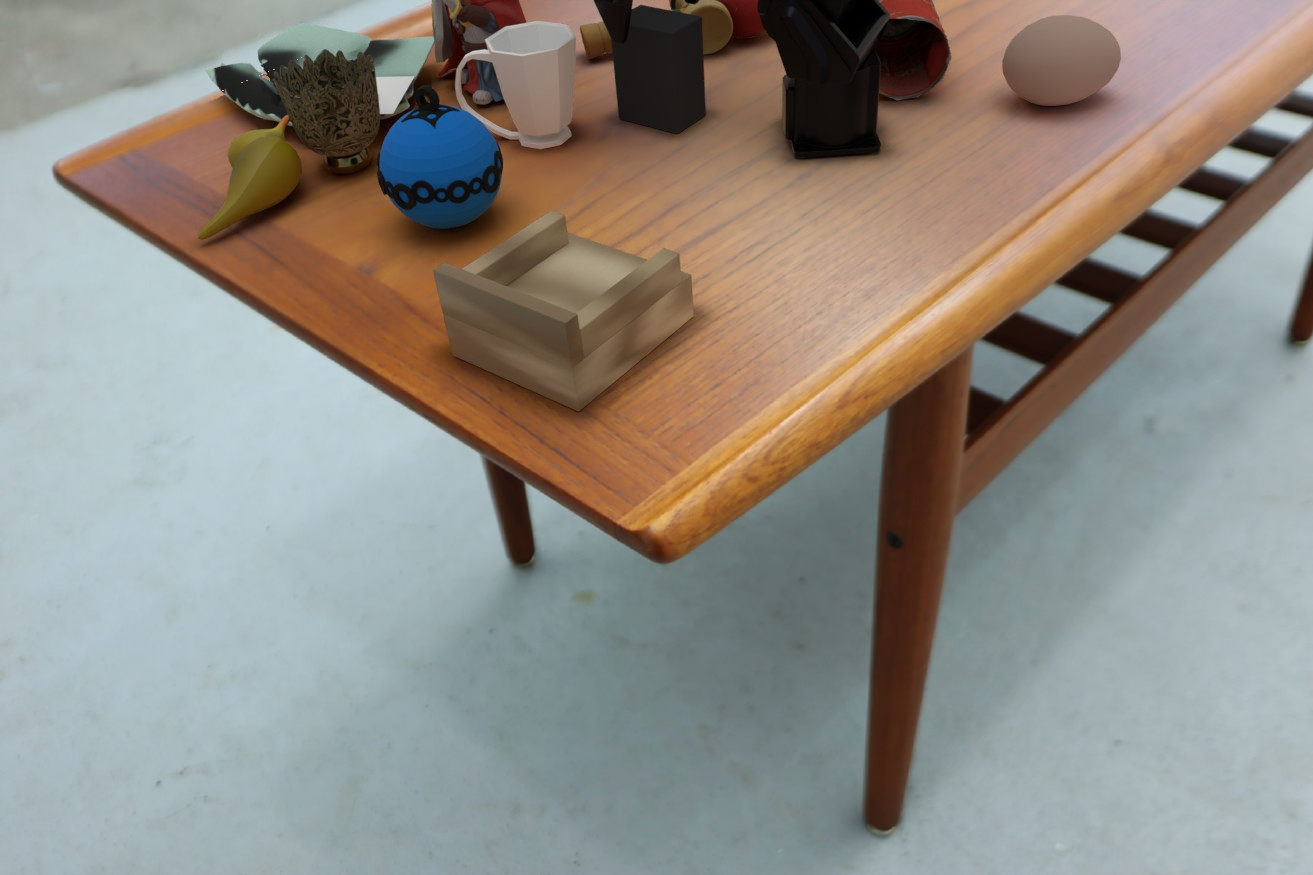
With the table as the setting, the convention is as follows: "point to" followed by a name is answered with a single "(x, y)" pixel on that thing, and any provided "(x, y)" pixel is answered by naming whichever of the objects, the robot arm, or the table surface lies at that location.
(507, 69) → the cup
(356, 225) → the table surface
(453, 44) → the figurine
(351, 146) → the cup
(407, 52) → the cloth
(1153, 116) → the table surface
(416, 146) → the ornament
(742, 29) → the kendama
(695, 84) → the black rectangular block
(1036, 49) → the egg
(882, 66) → the beverage can
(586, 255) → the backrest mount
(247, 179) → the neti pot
